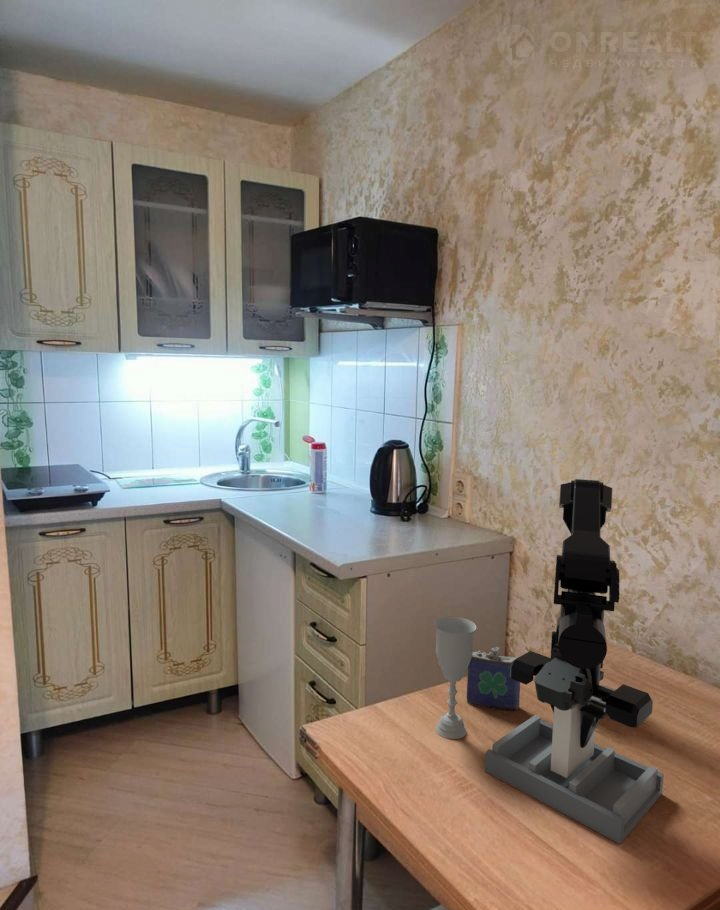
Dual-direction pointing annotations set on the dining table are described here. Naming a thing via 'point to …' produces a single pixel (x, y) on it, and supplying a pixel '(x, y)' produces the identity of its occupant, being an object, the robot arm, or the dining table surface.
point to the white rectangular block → (569, 741)
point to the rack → (577, 780)
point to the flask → (492, 682)
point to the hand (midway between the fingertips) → (573, 742)
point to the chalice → (453, 666)
